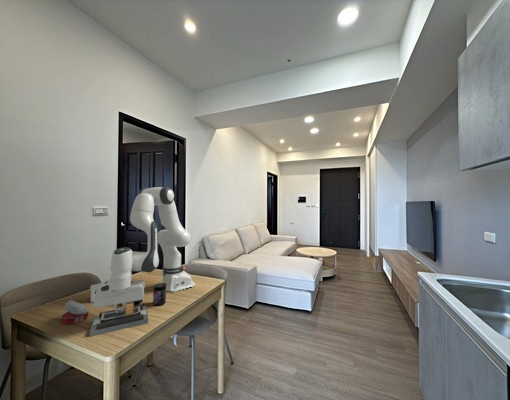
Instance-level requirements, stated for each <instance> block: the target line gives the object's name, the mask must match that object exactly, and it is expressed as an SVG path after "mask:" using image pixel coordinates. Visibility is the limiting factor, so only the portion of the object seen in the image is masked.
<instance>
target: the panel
mask: <svg viewBox="0 0 510 400" xmlns="http://www.w3.org/2000/svg"><path fill="white" fill-rule="evenodd" d="M148 314H149V313H148V309H147V306H146V305H145V306H143V304H138V305H133V313H131V314H126V307H124V309H123V312H122V313H117V314H116V310H115V309H112V310H108V311H102V312H99V314H98V315H94V317H93V321H92V324H91V327H90V330H89V337H93V336H98V335H102V334H106V333H111V332H115V331H119V330H124V329H128V328H131V327H132V328H133V327H136V326H141V325H145V324H148V323H149V315H148Z"/></svg>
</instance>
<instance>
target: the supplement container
mask: <svg viewBox="0 0 510 400" xmlns="http://www.w3.org/2000/svg"><path fill="white" fill-rule="evenodd" d="M166 286H167V284H166V283H162V282H159V283H156V284H153V293H152V294H153V296H152V297H153V299H152V304H153V306H155V307H159V306H163V305H165V304H166V302H167V291H166Z"/></svg>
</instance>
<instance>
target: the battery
mask: <svg viewBox="0 0 510 400" xmlns="http://www.w3.org/2000/svg"><path fill="white" fill-rule="evenodd" d="M143 299H144V298H143ZM143 299H142V300H138V301H133V306H138V305H141V303H143V302H144V301H143Z"/></svg>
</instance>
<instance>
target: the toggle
mask: <svg viewBox="0 0 510 400" xmlns="http://www.w3.org/2000/svg"><path fill="white" fill-rule="evenodd" d="M133 306H134V305H133V301H132V302H127V303H126V306H125V308H126V314H131V313H133Z"/></svg>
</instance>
